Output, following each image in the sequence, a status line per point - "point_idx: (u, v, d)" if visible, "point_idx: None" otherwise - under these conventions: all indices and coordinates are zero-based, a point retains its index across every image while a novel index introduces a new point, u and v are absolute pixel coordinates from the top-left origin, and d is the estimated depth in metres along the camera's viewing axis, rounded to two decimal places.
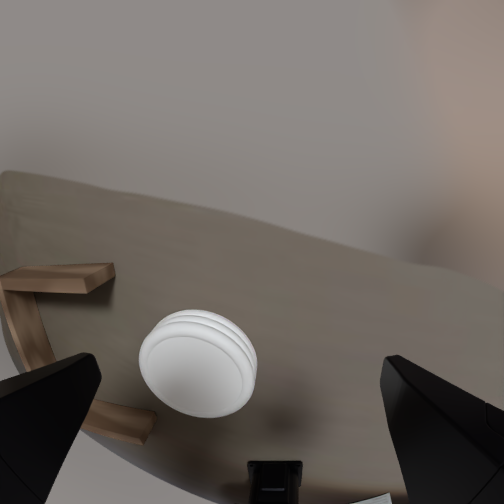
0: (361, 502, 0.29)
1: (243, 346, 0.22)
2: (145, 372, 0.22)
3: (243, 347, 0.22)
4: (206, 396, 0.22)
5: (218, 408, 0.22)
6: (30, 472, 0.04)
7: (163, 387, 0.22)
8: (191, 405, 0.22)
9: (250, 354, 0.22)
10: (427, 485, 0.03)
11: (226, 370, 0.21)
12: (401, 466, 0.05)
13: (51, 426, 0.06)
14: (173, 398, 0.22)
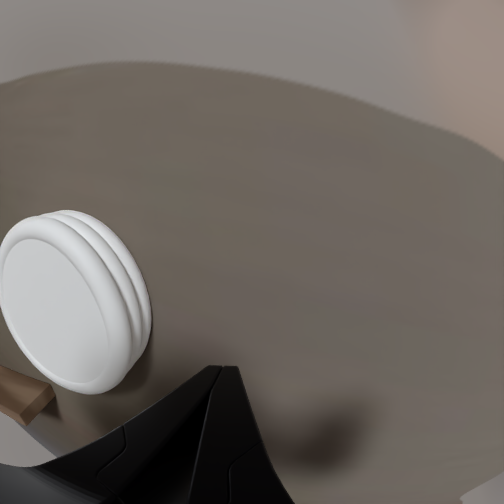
0: None
1: (109, 261, 0.12)
2: (3, 307, 0.12)
3: (110, 262, 0.12)
4: (68, 352, 0.12)
5: (87, 377, 0.12)
6: None
7: (23, 334, 0.12)
8: (56, 368, 0.12)
9: (124, 278, 0.12)
10: None
11: (80, 300, 0.11)
12: None
13: (191, 465, 0.05)
14: (36, 354, 0.12)
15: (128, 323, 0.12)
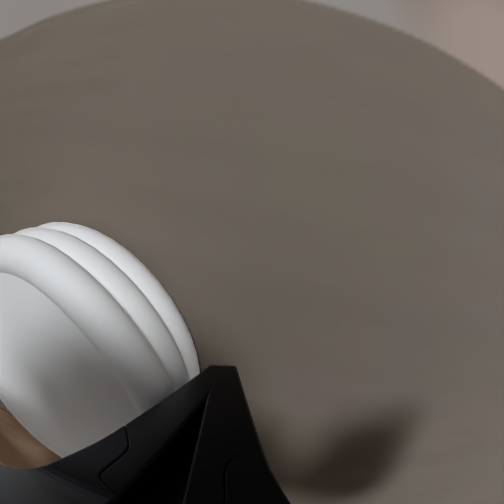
0: None
1: (137, 310, 0.07)
2: None
3: (138, 313, 0.07)
4: (80, 435, 0.07)
5: None
6: None
7: (12, 399, 0.07)
8: (65, 446, 0.07)
9: (163, 337, 0.07)
10: None
11: (91, 377, 0.06)
12: None
13: None
14: (34, 425, 0.08)
15: None
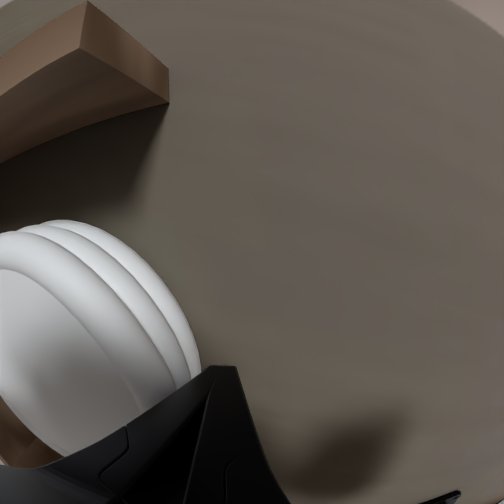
0: None
1: (141, 310, 0.07)
2: None
3: (142, 312, 0.07)
4: (80, 432, 0.07)
5: None
6: None
7: (12, 395, 0.07)
8: (64, 443, 0.08)
9: (167, 336, 0.07)
10: None
11: (94, 375, 0.06)
12: None
13: None
14: (33, 421, 0.08)
15: None
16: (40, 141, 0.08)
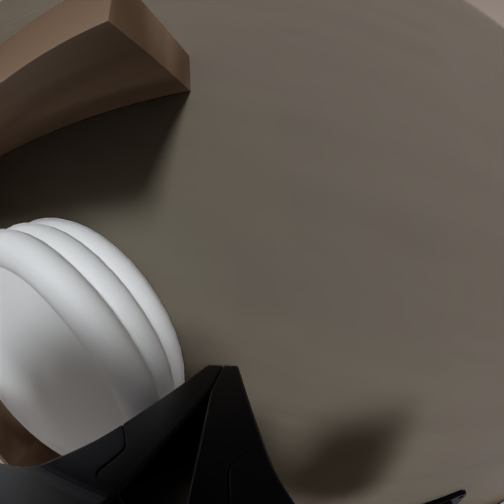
0: None
1: (121, 307, 0.07)
2: None
3: (122, 309, 0.07)
4: (66, 426, 0.07)
5: None
6: None
7: (3, 389, 0.07)
8: (53, 437, 0.08)
9: (146, 333, 0.07)
10: None
11: (76, 370, 0.06)
12: None
13: (191, 465, 0.05)
14: (24, 415, 0.08)
15: None
16: (49, 129, 0.08)
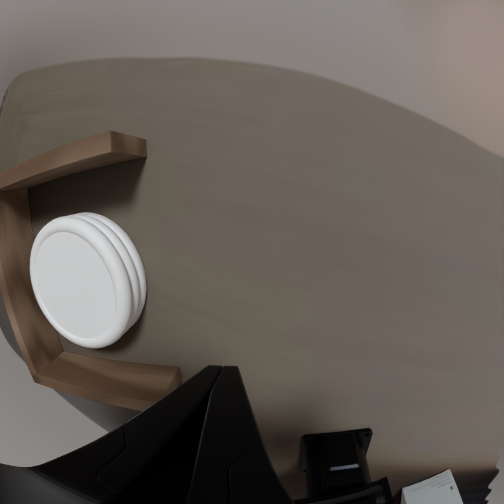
0: (420, 483, 0.23)
1: (118, 247, 0.18)
2: (34, 284, 0.18)
3: (119, 247, 0.18)
4: (85, 313, 0.18)
5: (98, 332, 0.18)
6: None
7: (49, 303, 0.18)
8: (74, 328, 0.18)
9: (128, 258, 0.18)
10: None
11: (97, 273, 0.17)
12: None
13: (191, 465, 0.05)
14: (59, 319, 0.18)
15: (130, 288, 0.17)
16: (84, 170, 0.18)
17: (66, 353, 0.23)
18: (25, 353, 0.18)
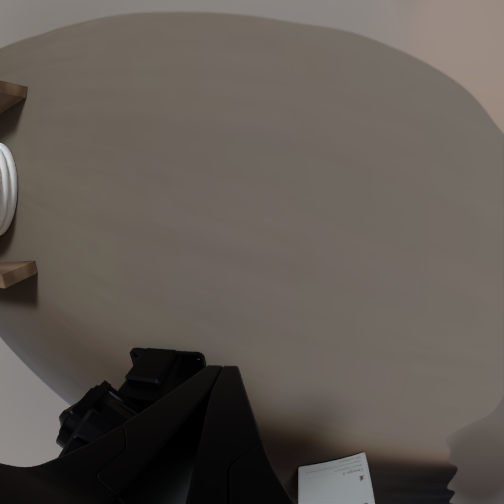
0: (321, 464, 0.23)
1: None
2: None
3: None
4: None
5: None
6: None
7: None
8: None
9: (3, 165, 0.18)
10: None
11: None
12: None
13: (191, 465, 0.05)
14: None
15: None
16: None
17: None
18: None
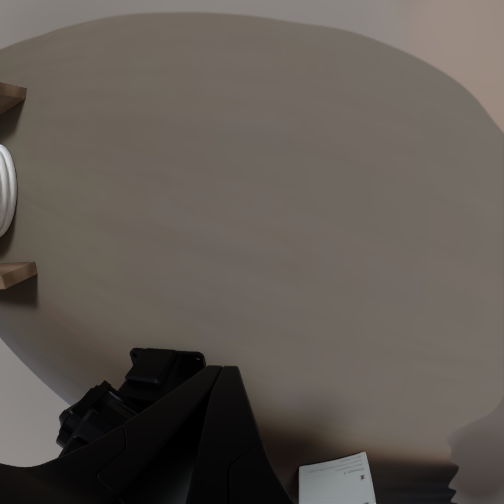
0: (322, 464, 0.23)
1: None
2: None
3: None
4: None
5: None
6: None
7: None
8: None
9: (3, 166, 0.18)
10: None
11: None
12: None
13: (191, 465, 0.05)
14: None
15: None
16: None
17: None
18: None
